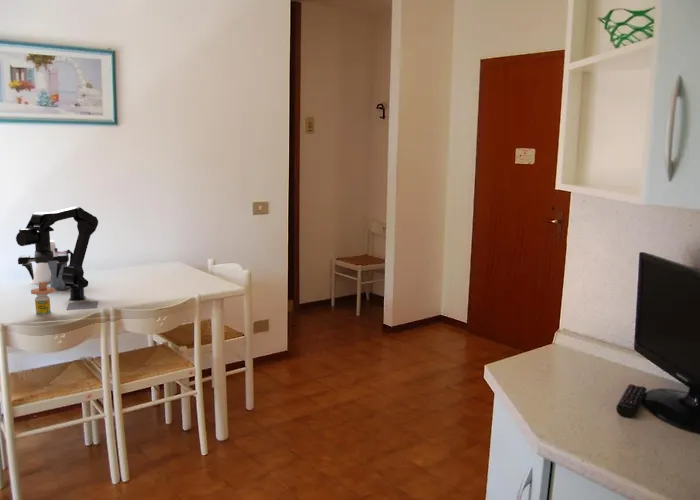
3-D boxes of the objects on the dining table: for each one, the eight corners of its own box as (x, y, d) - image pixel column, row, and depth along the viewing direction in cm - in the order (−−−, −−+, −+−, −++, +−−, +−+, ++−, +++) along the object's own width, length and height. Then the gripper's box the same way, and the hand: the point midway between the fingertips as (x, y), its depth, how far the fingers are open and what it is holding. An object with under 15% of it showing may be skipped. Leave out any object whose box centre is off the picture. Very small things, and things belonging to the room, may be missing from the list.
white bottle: (50, 278, 311) (47, 230, 306) (61, 281, 305) (58, 232, 300) (27, 282, 301) (24, 233, 297) (38, 285, 295) (34, 235, 291)
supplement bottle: (49, 311, 252) (48, 289, 250) (51, 315, 247) (50, 292, 246) (35, 313, 249) (33, 291, 247) (37, 316, 244) (35, 294, 243)
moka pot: (40, 290, 286) (37, 249, 282) (66, 283, 300) (64, 244, 297) (55, 292, 282) (52, 251, 279) (80, 285, 297) (78, 246, 293)
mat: (68, 304, 264) (68, 302, 264) (98, 302, 268) (98, 300, 268) (66, 311, 253) (66, 310, 253) (97, 309, 257) (97, 307, 257)
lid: (32, 289, 249) (31, 280, 248) (56, 288, 252) (55, 279, 251) (29, 295, 241) (28, 285, 240) (54, 293, 244) (53, 284, 243)
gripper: (14, 246, 241) (17, 284, 243) (65, 245, 247) (67, 281, 250) (18, 242, 251) (21, 278, 254) (67, 240, 257) (70, 276, 260)
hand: (45, 278), depth 254 cm, fingers open, 9 cm apart
